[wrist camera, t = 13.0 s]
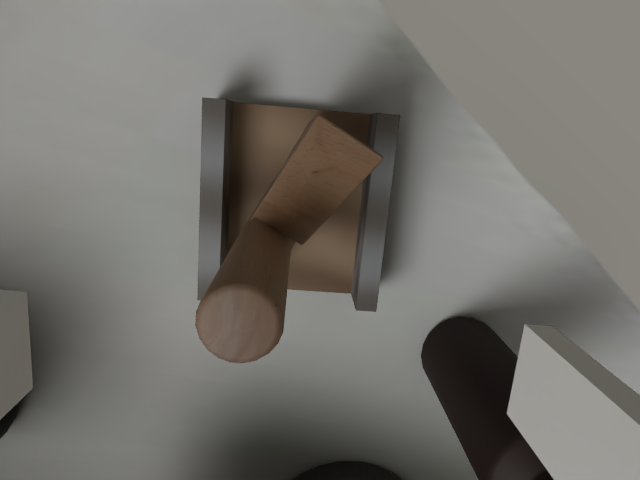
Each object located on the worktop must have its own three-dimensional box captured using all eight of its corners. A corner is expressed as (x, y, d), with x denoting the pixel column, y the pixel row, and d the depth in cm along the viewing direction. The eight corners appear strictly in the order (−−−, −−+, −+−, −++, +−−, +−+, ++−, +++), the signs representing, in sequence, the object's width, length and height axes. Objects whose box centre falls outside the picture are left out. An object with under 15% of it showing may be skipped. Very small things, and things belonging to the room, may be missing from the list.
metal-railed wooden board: (367, 290, 38) (376, 311, 34) (209, 279, 38) (197, 299, 33) (388, 116, 35) (400, 115, 31) (215, 101, 34) (202, 97, 30)
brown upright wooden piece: (353, 144, 35) (404, 163, 17) (277, 261, 37) (254, 386, 19) (311, 116, 34) (320, 107, 17) (236, 237, 36) (174, 342, 18)
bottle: (499, 312, 39) (690, 494, 20) (495, 384, 41) (668, 616, 22) (420, 317, 39) (535, 505, 20) (419, 388, 41) (525, 627, 21)
